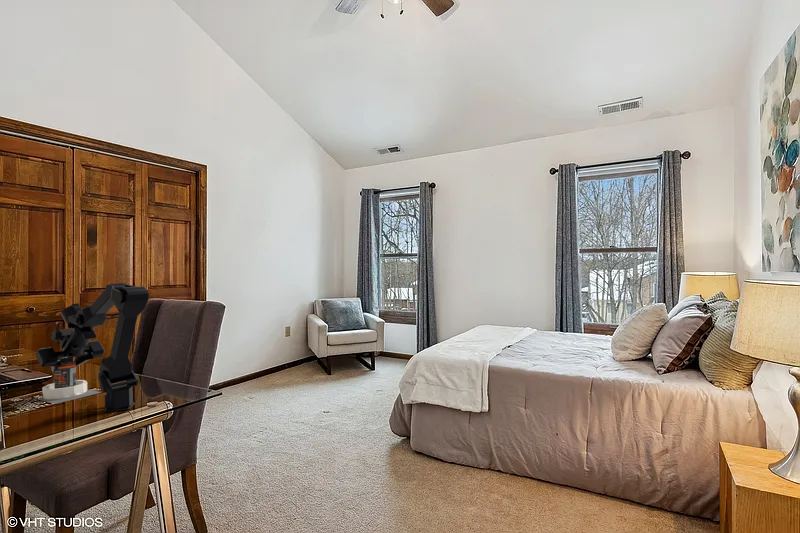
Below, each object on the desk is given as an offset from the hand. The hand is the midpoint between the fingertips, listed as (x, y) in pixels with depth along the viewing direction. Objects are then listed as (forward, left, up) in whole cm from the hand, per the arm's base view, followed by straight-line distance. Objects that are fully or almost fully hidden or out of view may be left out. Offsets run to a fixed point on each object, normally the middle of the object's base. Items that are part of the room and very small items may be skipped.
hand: (63, 368), depth 152 cm
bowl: (-1, +1, -9) cm, 9 cm away
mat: (-1, +1, -9) cm, 9 cm away
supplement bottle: (-1, +1, -7) cm, 7 cm away
